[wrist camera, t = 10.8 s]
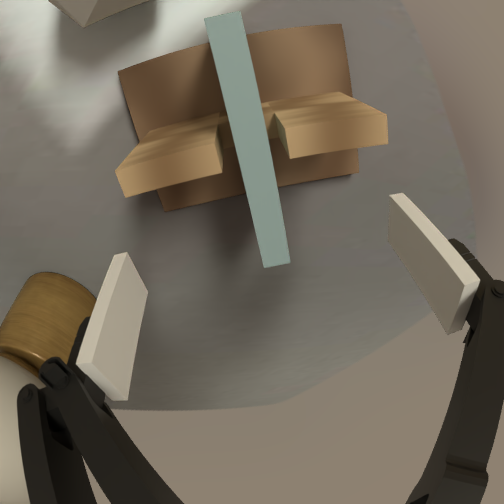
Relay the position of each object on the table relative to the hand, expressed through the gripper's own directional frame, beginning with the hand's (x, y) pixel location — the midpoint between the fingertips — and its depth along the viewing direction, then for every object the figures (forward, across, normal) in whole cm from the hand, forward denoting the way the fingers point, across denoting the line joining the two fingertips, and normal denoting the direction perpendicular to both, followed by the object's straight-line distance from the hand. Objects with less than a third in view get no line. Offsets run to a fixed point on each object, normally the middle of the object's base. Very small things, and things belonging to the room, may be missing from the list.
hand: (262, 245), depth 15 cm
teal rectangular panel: (+10, +1, +4) cm, 11 cm away
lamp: (+12, -24, -9) cm, 29 cm away
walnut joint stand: (+11, +1, +4) cm, 12 cm away
